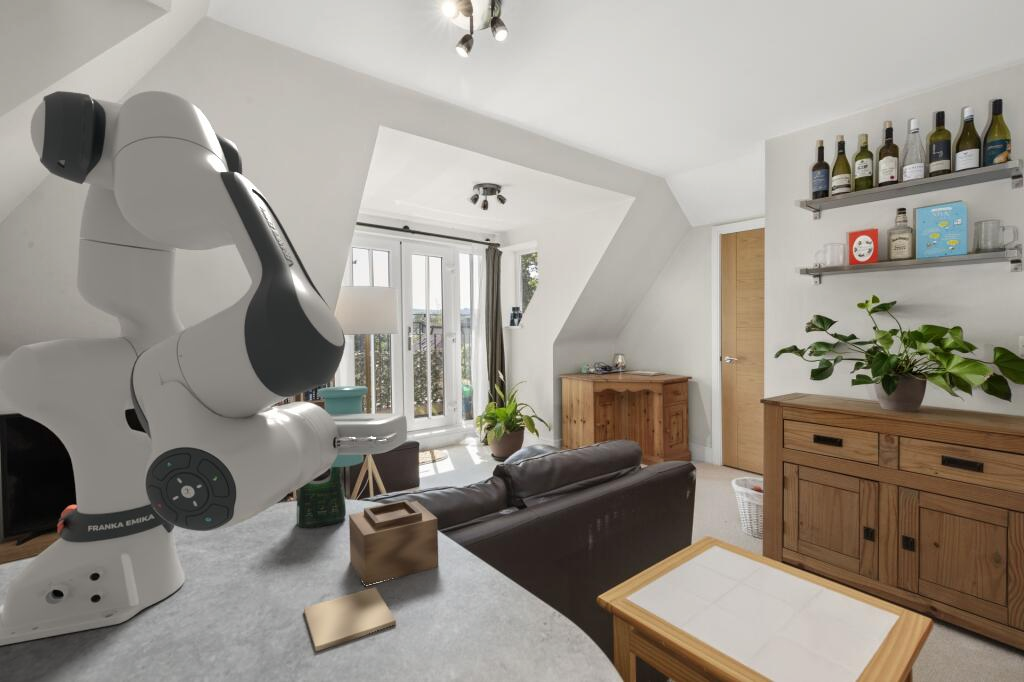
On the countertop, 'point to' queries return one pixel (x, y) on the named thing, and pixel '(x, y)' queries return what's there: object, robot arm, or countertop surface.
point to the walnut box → (393, 541)
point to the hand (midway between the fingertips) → (346, 420)
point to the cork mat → (347, 618)
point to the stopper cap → (344, 412)
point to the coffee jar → (321, 500)
